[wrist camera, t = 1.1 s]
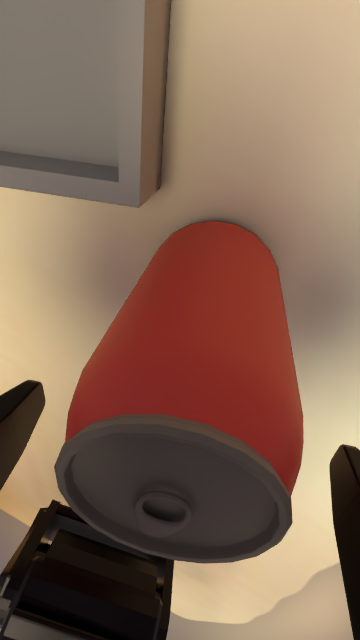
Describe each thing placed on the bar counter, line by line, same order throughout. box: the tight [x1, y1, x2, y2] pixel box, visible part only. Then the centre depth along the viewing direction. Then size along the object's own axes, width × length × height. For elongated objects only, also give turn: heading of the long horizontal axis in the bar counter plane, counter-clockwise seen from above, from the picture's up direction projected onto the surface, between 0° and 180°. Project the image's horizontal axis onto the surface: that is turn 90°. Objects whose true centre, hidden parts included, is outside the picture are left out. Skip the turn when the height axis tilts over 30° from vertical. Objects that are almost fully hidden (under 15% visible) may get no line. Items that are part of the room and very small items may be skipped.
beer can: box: [54, 221, 303, 563], centre depth 13 cm, size 7×7×12 cm
